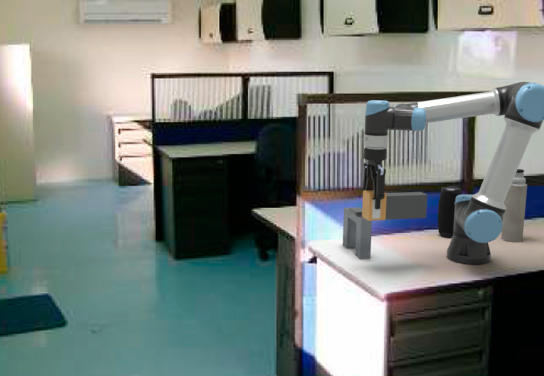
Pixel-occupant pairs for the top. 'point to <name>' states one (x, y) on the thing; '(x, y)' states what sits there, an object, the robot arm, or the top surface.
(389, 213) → the grey and orange block
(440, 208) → the portable speaker
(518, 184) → the thermos bottle
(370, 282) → the top surface
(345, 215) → the housing
